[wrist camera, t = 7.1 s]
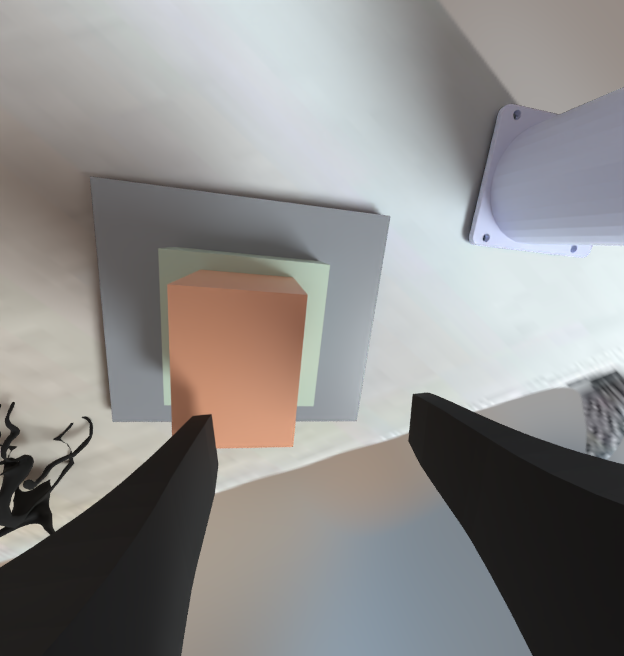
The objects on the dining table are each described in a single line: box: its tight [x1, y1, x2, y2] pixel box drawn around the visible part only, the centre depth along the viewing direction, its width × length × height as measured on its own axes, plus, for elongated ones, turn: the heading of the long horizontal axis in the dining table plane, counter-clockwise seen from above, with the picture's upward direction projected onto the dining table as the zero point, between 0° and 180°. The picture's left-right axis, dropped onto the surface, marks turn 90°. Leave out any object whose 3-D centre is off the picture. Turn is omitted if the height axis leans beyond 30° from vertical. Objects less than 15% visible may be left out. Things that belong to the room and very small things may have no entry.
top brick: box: [167, 270, 308, 448], centre depth 13 cm, size 4×6×5 cm
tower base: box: [90, 176, 390, 422], centre depth 17 cm, size 16×14×4 cm
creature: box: [0, 402, 93, 537], centre depth 17 cm, size 8×5×8 cm
